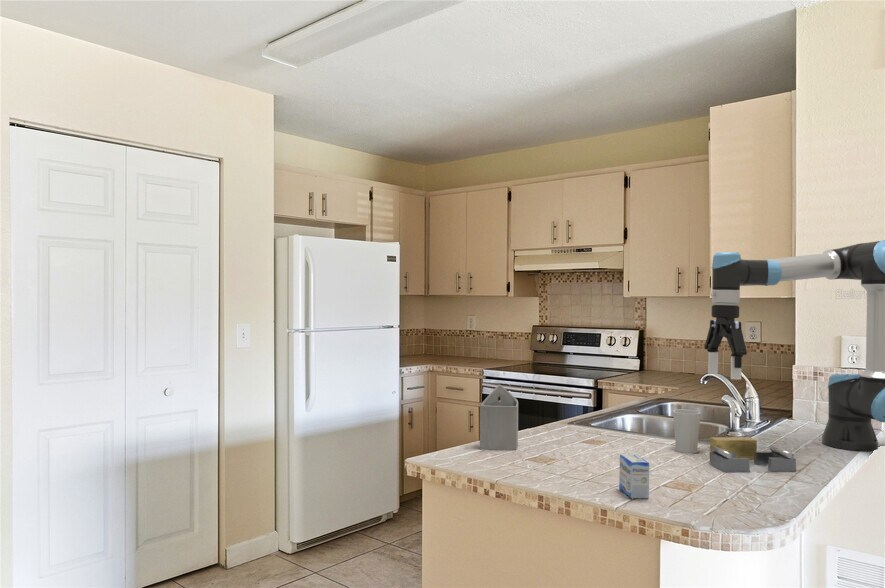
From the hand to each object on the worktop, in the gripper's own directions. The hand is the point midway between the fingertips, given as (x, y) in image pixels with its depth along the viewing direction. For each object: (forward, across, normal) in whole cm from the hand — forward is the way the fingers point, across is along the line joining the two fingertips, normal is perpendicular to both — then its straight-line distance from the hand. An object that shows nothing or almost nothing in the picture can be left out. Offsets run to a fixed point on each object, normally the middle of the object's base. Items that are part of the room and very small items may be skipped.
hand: (724, 376), depth 187 cm
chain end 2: (+24, +11, +9) cm, 28 cm away
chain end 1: (+24, +11, -4) cm, 27 cm away
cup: (+24, -9, -7) cm, 27 cm away
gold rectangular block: (+24, +1, +3) cm, 24 cm away
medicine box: (+25, +33, -39) cm, 57 cm away
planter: (+25, -14, -62) cm, 68 cm away
